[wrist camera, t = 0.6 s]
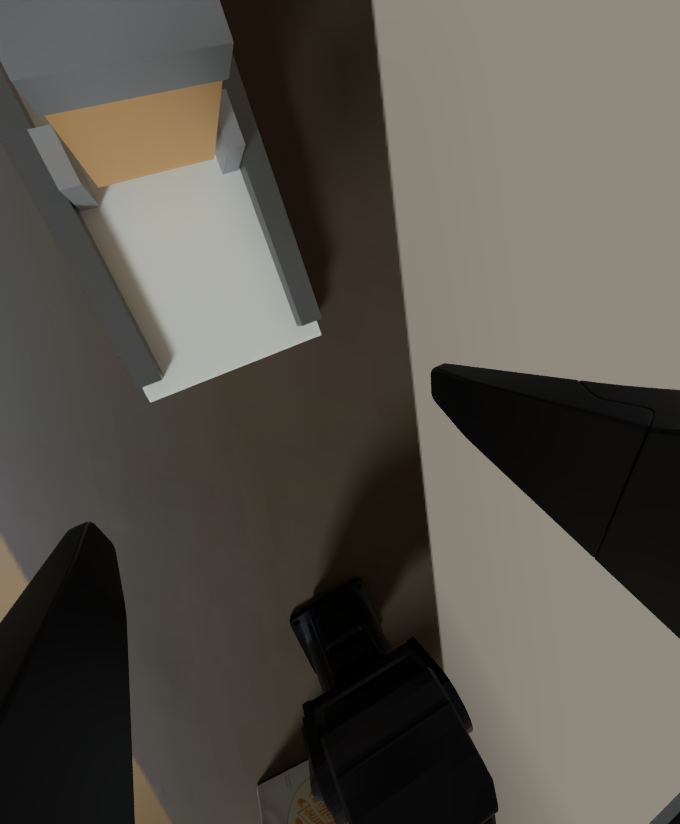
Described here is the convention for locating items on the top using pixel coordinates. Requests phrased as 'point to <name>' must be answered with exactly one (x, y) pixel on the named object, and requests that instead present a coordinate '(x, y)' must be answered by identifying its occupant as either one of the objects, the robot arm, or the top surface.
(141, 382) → the tray
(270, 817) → the coffee box
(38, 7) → the lever
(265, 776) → the top surface
